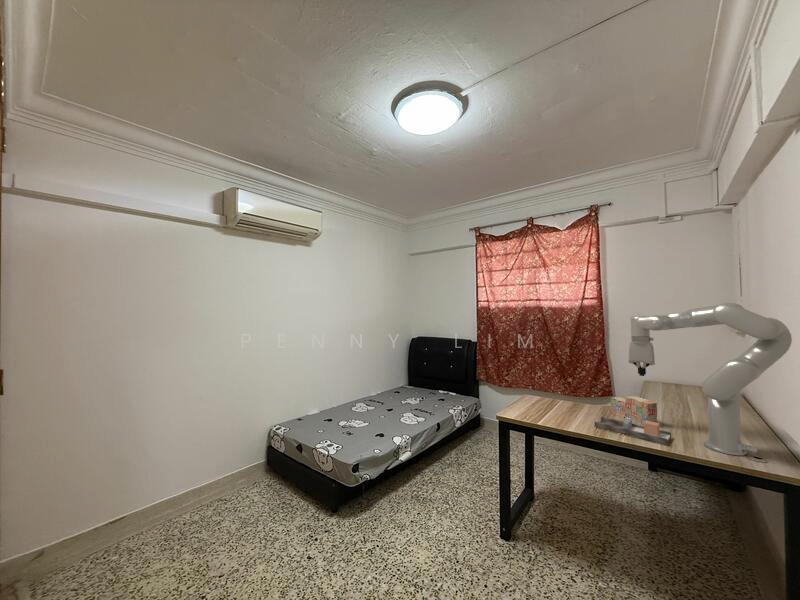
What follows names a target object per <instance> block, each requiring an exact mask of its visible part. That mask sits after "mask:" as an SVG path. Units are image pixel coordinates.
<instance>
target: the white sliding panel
mask: <svg viewBox="0 0 800 600" xmlns="http://www.w3.org/2000/svg"><path fill="white" fill-rule="evenodd" d="M623 422H624V428H625V429H629V430H633V431H637V432H641V433H644V429H641V428H637V427H633V426H632V424H633V421H632V420H631V419H625V421H623ZM658 437H662V438H666V439H667V442H668V440H669V438H670V435H667V434H663V433H660V434H659V436H658Z"/></svg>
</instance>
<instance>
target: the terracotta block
mask: <svg viewBox="0 0 800 600" xmlns="http://www.w3.org/2000/svg"><path fill="white" fill-rule="evenodd" d="M643 426H644V433H645V434H649V435H654V436H659V434H660V430H661V429H660V428H661V427H660V422H657V423H656V422H652V421H647V420H646V421H645V422H644V425H643Z"/></svg>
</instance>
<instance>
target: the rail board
mask: <svg viewBox="0 0 800 600" xmlns="http://www.w3.org/2000/svg"><path fill="white" fill-rule="evenodd" d="M624 422H625V421H622V420H618V419H614V418H610V417H605V416H600V421H594V428H595V427H596V428H595V429H599V428H600V429H599V430H602V429H605V430H604V431H606V430H609V431H608V432H610V431H612V432H611V433H614V432H616V433H615V434H618V433H620V434H619V435H622V434H624V435H623V436H626V435H627V436H626V437H630V436H631V437H630V438H634V439H637V440H641V439H642V441H645V442H650V443H654V444H658V445H662V446H666V447H667V446H668V445H669V444H670V442H671V440H672V432H671V431H665V430H661V429H660V433H663V434H667V435H670V438H669V440H668V442H667V439H666V438H662V437H658V436H654V435H649V434H645V433H641V432H637V431H633V430H629V429H625V428H624ZM632 426H633V427H637V428H641V429H644V425H641V424H637V423H632Z"/></svg>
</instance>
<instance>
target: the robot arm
mask: <svg viewBox="0 0 800 600" xmlns="http://www.w3.org/2000/svg"><path fill="white" fill-rule="evenodd" d="M719 325H726V326H728V327H730V328H732V329H734V330H735V331H736V330H737V331H739V332H741V333H743V334H745V335H748V336H750V337H753V338H755V339H757V340H756V342H754V343H753V344H752V345H751V346H749V347H748V349H746V350H745V351H744V352H743V353H741V354H740V355H738V356H737V357H736V358H733V359H730V360H728V361H726V362H724V363H723V364H722V365H721V366H720V367H718V369H717V370H715V371H714V372H713V373H712V374H710V375H709V376H708V377H707V378H706V379H704V381H703V382H702V384H701V389H702V393H704V395H705V396H706V397H708V400H707V408H708V409H707V416H708V417H707V418H708V419H707V421H708V424H707V425H708V439H706V440H704V441H703V445H704V446H705V447H706V448H708V449H710V450H712V451H715V452H718V453H721V454H727V455H733V456H745V455H746V456H747V452H751V453H755V454H758V448H757V447H753V445H750V444H749V445H747V444H745V443H743V441H742V440H741V396H742V395H741V394H742V393H741V392H742V390H744V389H745V388H746V387H748V386H749V385H751V383H753V382H754V381H755V380H757V379H759V378H760V376H761V375H762V374H763V373H764V372H765V371H767V370H768V369H769V368H771V367H772V366H773V365H774V364H775V363H776V362H778V361H779V360H780V359H781V358H783V357H784V355H786V354H787V352H788V351H789V350H790V348H791V346H792V341H793V340H792V339H793V338H792V334H791V332H790V329H789V328H788V327H787V326H786V324H785V323H784V322H782V321H780V320H778V319H777V318H773V317H765V316H763V315H760V314H758V313H755V312H753V311H751V310H748V309H746V308H745V307H743V306H742V305H740V304H738V303H734V302H733V303H732V302H725V303H724V302H723V303H720V304H717V305H710V306H704V307H696V308H690V309H688V310H686V311H682V312H677V313H676V312H675V313H670V314H665V315H664V314H663V315H660V314H659V315H657V314H656V315H655V314H654V315H650V316H649V315H648V316H646V315H633V316H631V317H630V331H631V333H630V335H631V336H630V337H631V341H630V342H629V345H628V346H629V347H628V363H629V364H631V365H634V366H635V367H636V368H637V374H639V377H644V376H646V374H647V371H646V370H647V369H646V368H647V367H649V366H655V365H656V363H655V351H654V350H655V349H654V346H653V343H652V342H653V341H654V339H655V338H654V337H651V336H650V335H651V333H650V331H657V332H660V331H668V330H669V331H670V330H677V329H685V328H686V329H687V328H701V327H702V328H703V327H710V326H719ZM641 363H642V365H641Z"/></svg>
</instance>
